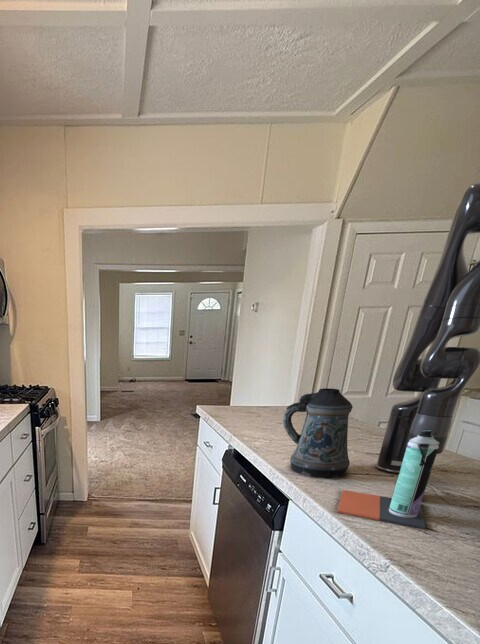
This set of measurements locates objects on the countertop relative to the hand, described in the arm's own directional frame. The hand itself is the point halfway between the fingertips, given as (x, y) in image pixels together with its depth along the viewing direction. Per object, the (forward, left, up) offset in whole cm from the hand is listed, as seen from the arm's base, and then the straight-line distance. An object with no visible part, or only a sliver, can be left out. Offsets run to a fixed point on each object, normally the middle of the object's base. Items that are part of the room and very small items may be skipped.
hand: (409, 495), depth 106 cm
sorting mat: (+13, -6, 0) cm, 15 cm away
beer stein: (-11, -24, -1) cm, 27 cm away
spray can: (+15, -2, 0) cm, 15 cm away
